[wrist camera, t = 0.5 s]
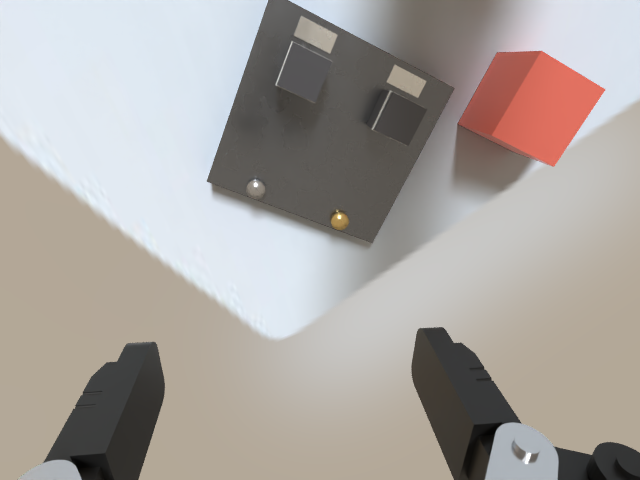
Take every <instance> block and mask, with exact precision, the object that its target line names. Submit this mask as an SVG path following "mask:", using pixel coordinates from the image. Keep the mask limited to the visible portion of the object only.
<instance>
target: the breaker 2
mask: <svg viewBox="0 0 640 480" xmlns="http://www.w3.org/2000/svg"><path fill="white" fill-rule="evenodd" d="M426 111H427V109H426V108H425V107H423V106H421V105H419V104H417V103H415V102H413V101H411V100H409V99H407V98H405V97H403V96H401V95H399V94H397V93H395V92H393V91H387V90H382V92H381V95H380V97H379V99H378V101H377V103H376V105H375V107H374V109H373V112H372V114H371V116H370V118H369V120H368V122H367V124H366V125H367V126H369V127H370V128H372V130H374V131H376V132H378V133H380V134H383V135H385V136H387V137H389V138H391V139H393V140H396V141H398V142H400V143H402V144H404V145H407V146H409V144H410V142H411V140H412V138H413V136H414V134H415V132H416V131H417V129H418V127H419V125H420V123H421V121H422V119H423V117H424V115H425V113H426Z"/></svg>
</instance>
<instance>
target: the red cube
mask: <svg viewBox="0 0 640 480" xmlns="http://www.w3.org/2000/svg"><path fill="white" fill-rule="evenodd" d="M604 91H605V89H604V88H602V87H600V86H599V85H597V84H595V83H594V82H592V81H590V80H589V79H587V78H585V77H584V76H582V75H580V74H579V73H577V72H576V71H574V70H572V69H571V68H569V67H567V66H566V65H564V64H562V63H561V62H559V61H557V60H556V59H554V58H552V57H551V56H549V55H547V54H546V53H544V52H542V51H526V52H499V53H497V54H496V55H495V57H494V59H493V61H492V63H491V64H490V66H489V68H488V70H487V72H486V73H485V75H484V77H483V79H482V81H481V82H480V84H479V86H478V88H477V90H476V92H475V93H474V95H473V97H472V99H471V101H470V102H469V104H468V106H467V108H466V110H465V111H464V113H463V115H462V117H461V119H460V121H459V122H458V125H460V126H462V127H464V128H466V129H468V130H470V131H472V132H474V133H476V134H478V135H480V136H482V137H484V138H486V139H488V140H490V141H492V142H494V143H496V144H498V145H500V146H502V147H504V148H506V149H508V150H510V151H513V152H515V153H518V154H521V155H523V156H526V157H529V158H531V159H534V160H537V161H539V162H542V163H545V164H547V165H550V166H553V167H554V166H555V164H556V163H557V161H558V160H559V158H560V157H561V155H562V154H563V152H564V151H565V149H566V148H567V146H568V145H569V143H570V142H571V140H572V139H573V137H574V136H575V134H576V133H577V131H578V130H579V128H580V127H581V125H582V124H583V122H584V121H585V119H586V118H587V116H588V115H589V113H590V112H591V110H592V109H593V107H594V106H595V104H596V103H597V101H598V100H599V98H600V97H601V95H602V94H603V92H604Z"/></svg>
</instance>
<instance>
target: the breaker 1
mask: <svg viewBox="0 0 640 480" xmlns="http://www.w3.org/2000/svg"><path fill="white" fill-rule="evenodd" d="M331 64H332V61H331V60H329V59H327V58H325V57H323V56H321V55H319V54H317V53H315V52H313V51H311V50H309V49H307V48H305V47H303V46H301V45H299V44H297V43H295V42H293V41H292V42H291V44H290V47H289V49H288V52H287V55H286V58H285V60H284V63H283V66H282V68H281V71H280V74H279V76H278V79H277V82H276V86H278V87H281V88H283V89H285V90H287V91H289V92H291V93H294V94H296V95H298V96H300V97H302V98H305V99H307V100H309V101H311V102H313V103H316V100H317V98H318V95H319V93H320V90H321V88H322V86H323V83H324V81H325V78H326V76H327V74H328V71H329V69H330V66H331Z"/></svg>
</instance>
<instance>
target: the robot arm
mask: <svg viewBox="0 0 640 480" xmlns="http://www.w3.org/2000/svg"><path fill="white" fill-rule="evenodd" d="M412 378H413V382H414V386H415V388H416V390H417V393H418V395H419V398H420V400H421V402H422V405H423V407H424V409H425V412H426V414H427V416H428V419H429V421H430V423H431V426H432V428H433V431H434V433H435V436H436V438H437V440H438V443H439V445H440V447H441V450H442V452H443V455H444V457H445V459H446V462H447V464H448V466H449V469H450V471H451V474H452V476H453V478H454V480H640V453H639V452H637V451H636V450H634V449H632V448H630V447H627V446H625V445H622V444H619V443H613V442H606V443H602V444H599V445H598V446H597V447H596V448H595V450H594V452H593V454H592V455H589V454H585V453H580V452H575V451H570V450H566V449H561V448H557V447H554V446H553V445H552V443H551V442H550V441H549V440H548V439H547V438H546V437H545V436H544V435H543V434H541V433H540V432H539V431H537V430H535V429H534V428H532V427H530V426H527V425H524V424H522V423H521V422H520V420H519V419H518V417H517V416H516V414H515V413H514V411H513V410H512V409H511V407H510V405H509V404H508V402H507V401H506V400H505V398H504V396H503V395H502V393H501V392H500V390H499V389H498V387H497V386H496V384H495V383H494V381H492V380H491V377H490V375H489V374H488V373H487V371H486V370H484V366H483V365H482V363H481V362H480V360H479V359H478V357H477V356H476V354H475V353H474V352H472V351H471V350H470V349H469V348H467V347H466V346H465V345H463V344H462V343H453V341H452V339H451V338H450V336H449V335H448V333H447V331H446V330H445V329H444V328H442V327H439V328H420V329H418V331H417V335H416V341H415V348H414V354H413V360H412ZM164 390H165V383H164V376H163V372H162V367H161V362H160V357H159V352H158V347H157V344H156V343H155V342H143V343H128V344H126V346H125V347H124V349H123V351H122V353H121V355H120V357H119V359H118V361H117V362H109V363H106V364H105V365H104V366H103V367H101V368H100V370H98V371H97V372H96V373H95V374H94V375H93V376H92V377H91V379H90V380H89V382H88V384H87V386H86V388H85V389H84V391H83V395H82V396H81V397H80V398H79V400H78V402H77V404H76V407H75V409H73V411H72V413H71V415H70V416H69V418H68V420H67V422H66V423H65V425H64V427H63V429H62V431H61V432H60V434H59V436H58V438H57V440H56V441H55V443H54V445H53V447H52V448H51V450H50V452H49V454H48V456H47V458H46V459H45V461H44V462H43V463H42V464H40V465H38V466H36V467H34V468H32V469H30V470H29V471H27V472H26V473H25V474H23V475H22V476H21V477H20V478H18V479H17V480H138V479H139V476H140V472H141V469H142V466H143V463H144V460H145V457H146V453H147V450H148V447H149V444H150V440H151V438H152V434H153V431H154V428H155V425H156V422H157V418H158V415H159V412H160V409H161V406H162V402H163V398H164Z"/></svg>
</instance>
